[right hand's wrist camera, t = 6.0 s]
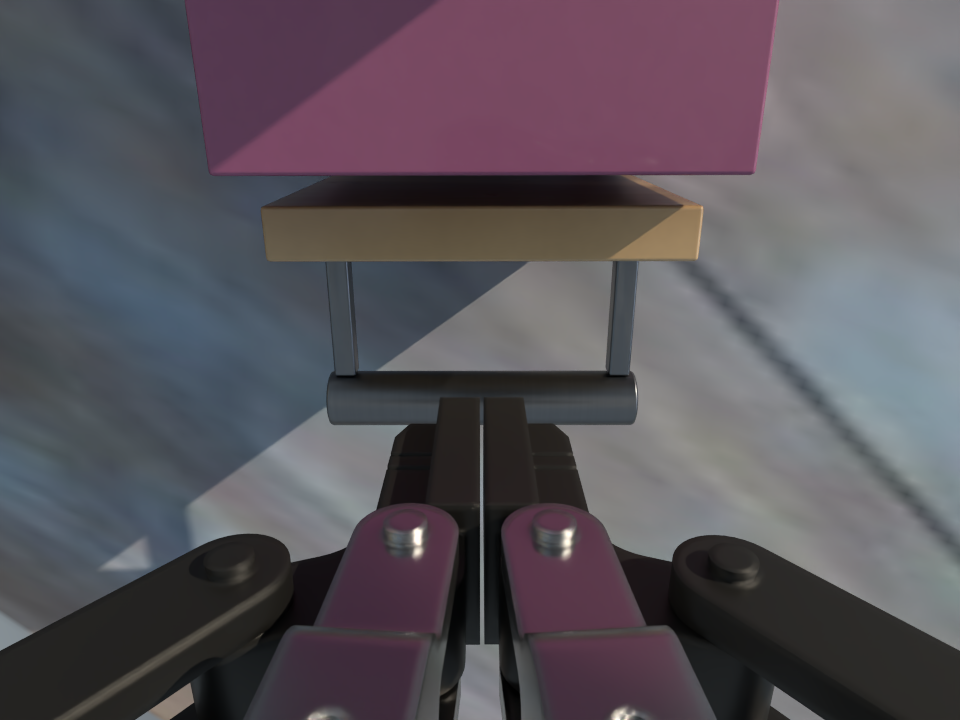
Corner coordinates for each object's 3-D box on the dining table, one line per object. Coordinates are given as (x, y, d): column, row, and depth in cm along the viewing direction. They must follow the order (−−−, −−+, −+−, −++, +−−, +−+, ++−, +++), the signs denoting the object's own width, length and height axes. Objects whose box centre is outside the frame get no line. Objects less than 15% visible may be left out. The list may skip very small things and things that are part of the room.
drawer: (608, 359, 25) (673, 485, 16) (355, 359, 25) (291, 485, 16) (659, -364, 18) (820, -791, 9) (303, -362, 18) (142, -784, 9)
